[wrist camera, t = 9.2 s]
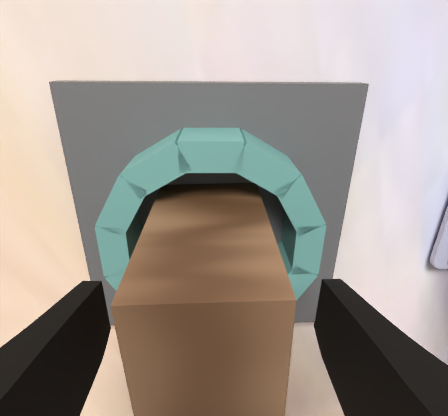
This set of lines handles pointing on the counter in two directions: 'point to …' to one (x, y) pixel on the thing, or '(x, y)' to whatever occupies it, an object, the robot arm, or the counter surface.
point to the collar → (211, 162)
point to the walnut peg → (206, 307)
